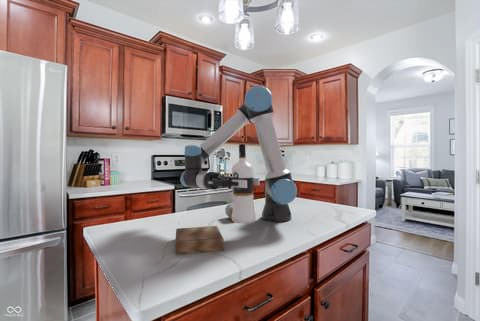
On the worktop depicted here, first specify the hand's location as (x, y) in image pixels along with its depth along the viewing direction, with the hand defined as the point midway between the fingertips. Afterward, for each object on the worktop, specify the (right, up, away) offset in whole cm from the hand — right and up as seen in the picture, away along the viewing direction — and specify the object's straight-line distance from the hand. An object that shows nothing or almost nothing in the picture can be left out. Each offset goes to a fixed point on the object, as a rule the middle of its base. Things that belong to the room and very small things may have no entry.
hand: (252, 182), depth 92 cm
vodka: (-4, -15, +3) cm, 16 cm away
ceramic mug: (-7, -22, +33) cm, 40 cm away
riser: (-20, -22, -3) cm, 30 cm away
